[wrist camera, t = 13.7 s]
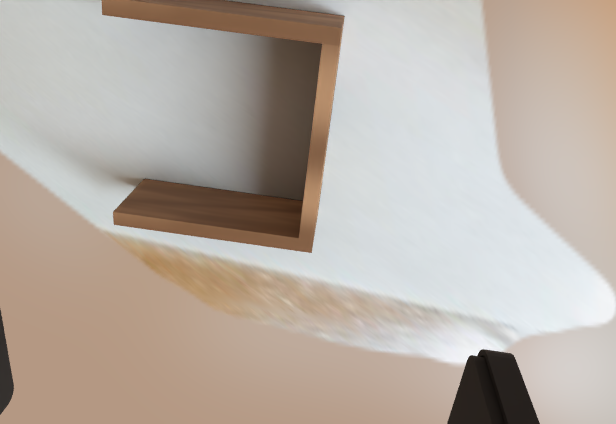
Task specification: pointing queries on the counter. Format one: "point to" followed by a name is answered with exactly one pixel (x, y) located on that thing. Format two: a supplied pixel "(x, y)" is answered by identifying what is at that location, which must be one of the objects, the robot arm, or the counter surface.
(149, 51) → the counter surface
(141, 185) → the angled wooden boards
